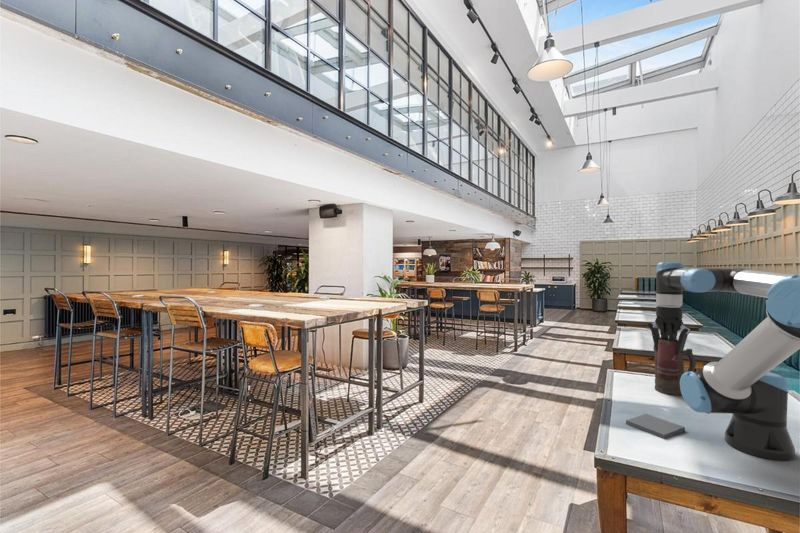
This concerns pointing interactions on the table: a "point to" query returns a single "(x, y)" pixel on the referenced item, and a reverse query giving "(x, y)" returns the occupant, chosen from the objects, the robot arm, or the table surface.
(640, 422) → the mat
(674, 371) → the can
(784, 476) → the table surface
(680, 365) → the beer stein
